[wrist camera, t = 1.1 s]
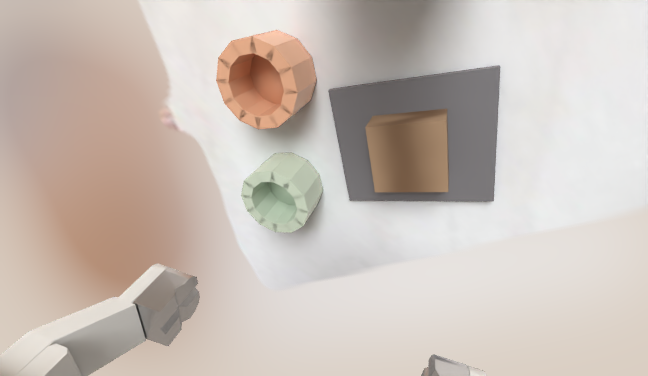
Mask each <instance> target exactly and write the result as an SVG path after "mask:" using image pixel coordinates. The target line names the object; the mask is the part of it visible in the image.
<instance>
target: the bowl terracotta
mask: <svg viewBox="0 0 648 376" xmlns="http://www.w3.org/2000/svg"><path fill="white" fill-rule="evenodd" d="M216 81H217V84H218V87H219V89H220V92H221V95H222V98H223V101H224V103H225V104H226V106H227V107H228V108H229V109H230V110H231V111H232V112H233V114H234V115H235V116H236V117H237V118H238V119H239V120H240V121H242V122H244V123H246V124H248V125H250V126H253V127H255V128H257V129H267V128H278V127H279V126H280V125H282V124H283V123H284V122H285V121H287V120H288V119H289V118H291V117H292V116H293V115H294V114H296V113H297V112H298V111H299V110H300V109H301V108H302V107H304V106H305V105H306V104H307V103H308V102H309V101H311V98H312V95H313V91H314V88H315V84H316V81H317V79H316V75H315V70H314V65H313V60H312V57H311V56H310V54H309V53H308V52H307V50H306V49H305V48H304V47H303V45H302V44H301V43H300V41H299V40H298V39H297V38H295V37H292V36H290V35H288V34H285V33H283V32H281V31H278V30H275V31H271V32H267V33H263V34H258V35H253V36H249V37H245V38H241V39H237V40H233V41H231V42H230V43H229V45H228V46H227V47H226V48H225V50H224V51H223V52H222V54H221V55H220V56H219V57H218V68H217V79H216Z"/></svg>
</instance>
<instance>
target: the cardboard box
mask: <svg viewBox="0 0 648 376" xmlns="http://www.w3.org/2000/svg"><path fill="white" fill-rule="evenodd" d="M365 129H366V135H367V142H368V149H369V155H370V162H371V169H372V175H373V182H374V189H375V192H448V187H449V156H448V118H447V109H438V110H428V111H418V112H407V113H397V114H387V115H377V116H372V118H371V119H370V121H369V122H368V124H367V126H366V127H365Z"/></svg>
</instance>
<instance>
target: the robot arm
mask: <svg viewBox="0 0 648 376" xmlns="http://www.w3.org/2000/svg"><path fill="white" fill-rule="evenodd" d="M197 284H198V282H197V277H195V276H192V275H189V274H186V273H183V272H180V271H178V270H175V269H172V268H170V267H166V266H163V265H160V264H155V265H153V266H151V267H150V268H149V269H148V270H147V271H146V272H145V273H144V274H143V275H142V276H141V277H140V278H139V279H138V280H137V281H135V282H134V283H133V284H132V285H131V286H130V287H129V288H128V289H127V290H126V291H125V292H124V293H123V294H122V295H121V296H120V297H119V298H117V297H112V298H110V299H107V300H105V301H103V302H100V303H98V304H95V305H93V306H90V307H88V308H85V309H83V310H80V311H78V312H75V313H73V314H70V315H68V316H65V317H63V318H60V319H58V320H55V321H53V322H50V323H48V324H45V325H43V326H41V327H38V328H36V329H33V330H31V331H29V332H28V333H27V334H25V335H24V336H23V337H22V338H21V339H19V340H18V341H17V342H15V343H14V344H13V345H12V346H11V347H9V348H8V349H7V350H6V351H4V352H3V353H2V354H1V355H0V376H88V375H90V374H91V373H93V372H94V371H96V370H98V369H99V368H101V367H103V366H104V365H106V364H108V363H110V362H111V361H113V360H114V359H116V358H118V357H119V356H121V355H123V354H124V353H126V352H128V351H129V350H131V349H132V348H134V347H136V346H137V345H139V344H141V343H142V342H144V341H146V339H148V340H151V341H154V342H157V343H160V344H163V345H166V346H169V345H170V344H171V342H172V341H173V339H174V338H175V337H176V336H177V334H178V333H179V332H180V330H181V325H182V322H183V321H185V320H187V319H189V318H190V317H191V316H192V315H193V313H194V312H195V310H196V307H197V305H198V303H199V298H200V296H199V291H198V290H197V289H196V288H195V287H196V285H197ZM421 376H487V375H486V373H485V371H483V370H480V369H477V368H473V367H470V366H467V365H466V364H463V363H459V362H456V361H453V360H450V359H447V358H443V357H440V356H437V355H432V356H431V357H430V359H429V367H427V368H425V369H424V370H423V373H422V375H421Z"/></svg>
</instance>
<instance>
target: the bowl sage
mask: <svg viewBox="0 0 648 376" xmlns="http://www.w3.org/2000/svg"><path fill="white" fill-rule="evenodd" d="M322 192H323V188H322V183H321V179H320V175H319V173H318V172H317V171H316V170H315V169H314V167H313V166H312V165H311V164H310V163H309V161H308V160H306V159H304V158H302V157H299V156H297V155H295V154H293V153H275V154H274V155H273V156H271V157H270V158H269V159H268V160H267V161H265V162H264V163H263V164H262V165H261V166H260V167H258V168H257V169H256V170H255V171H254V172H253V173H252V174H251V175H250V176H249V177H247V178H246V179H245V180H244V183H243V188H242V194H241V196H242V199H243V202H244V204H245V207H246V209H247V211H248V212H249V214H250V215H251V216H252V217H253V218H254V219H255V220H256V221H257V222H258V223H259V224H260V225H262V226H264V227H266V228H268V229H270V230H272V231H274V232H285V233H292V232H294V231H295V230H297V229H299V228H301V227H302V226H304V225H305V223H306V221H307V220H308V218H309V217H310V215H311V214H312V212H313V211H314V209H315V207H316V206H317V204H318V202H319V200H320V197H321V194H322Z"/></svg>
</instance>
